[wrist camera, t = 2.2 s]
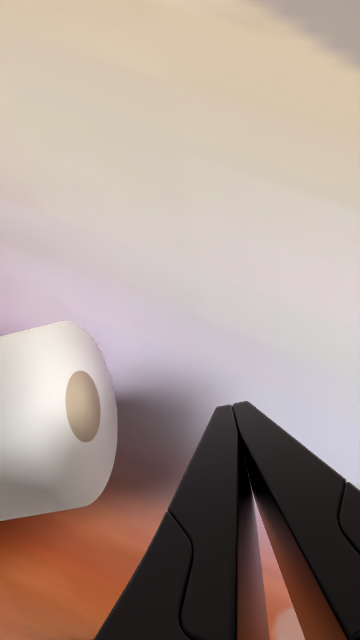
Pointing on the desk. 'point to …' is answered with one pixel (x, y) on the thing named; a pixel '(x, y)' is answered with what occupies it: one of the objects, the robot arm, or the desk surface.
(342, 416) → the desk surface
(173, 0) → the desk surface
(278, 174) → the desk surface
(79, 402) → the roll
